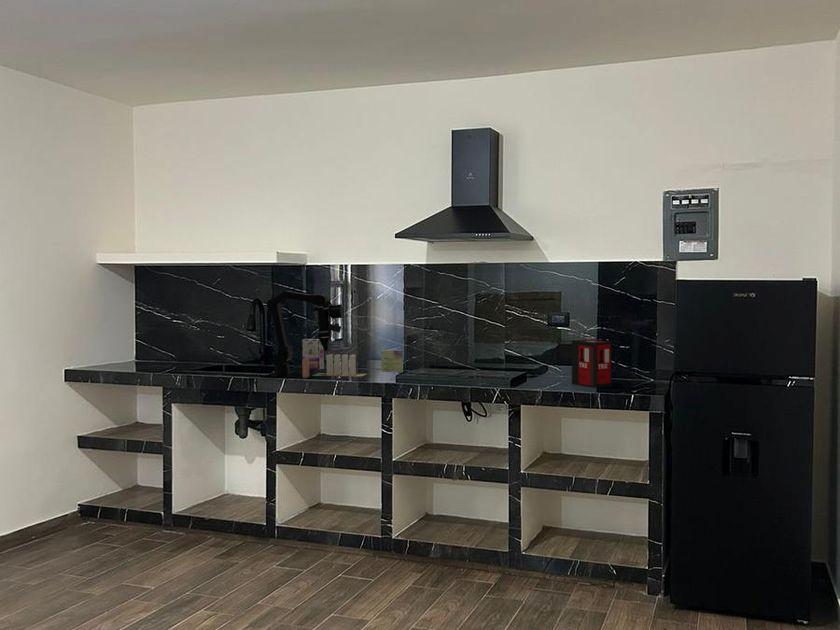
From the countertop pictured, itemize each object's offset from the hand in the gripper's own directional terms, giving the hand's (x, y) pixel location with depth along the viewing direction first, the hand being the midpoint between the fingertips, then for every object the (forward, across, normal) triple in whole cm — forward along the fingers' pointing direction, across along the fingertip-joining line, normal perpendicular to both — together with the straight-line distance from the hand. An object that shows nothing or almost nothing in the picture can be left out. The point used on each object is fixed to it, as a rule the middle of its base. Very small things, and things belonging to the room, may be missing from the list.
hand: (326, 350), depth 411 cm
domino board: (+14, 0, -5) cm, 15 cm away
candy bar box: (+12, +34, +10) cm, 38 cm away
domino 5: (+13, -2, -12) cm, 18 cm away
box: (+16, +13, -32) cm, 38 cm away
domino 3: (+13, +1, -4) cm, 13 cm away
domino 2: (+12, +2, 0) cm, 12 cm away
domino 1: (+13, -5, +11) cm, 18 cm away
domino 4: (+13, 0, -8) cm, 15 cm away
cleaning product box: (+24, -48, -120) cm, 131 cm away
